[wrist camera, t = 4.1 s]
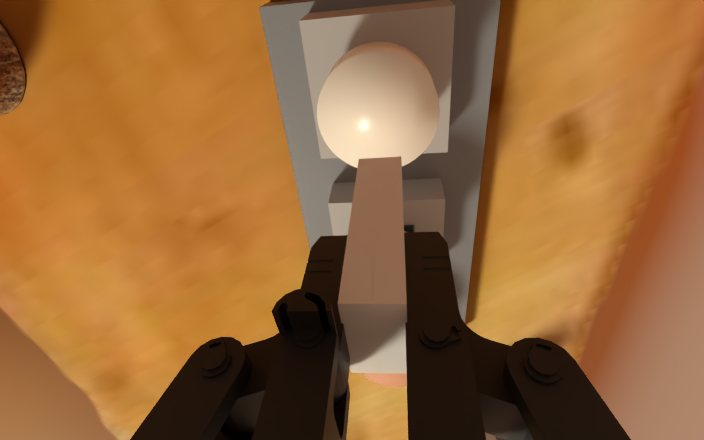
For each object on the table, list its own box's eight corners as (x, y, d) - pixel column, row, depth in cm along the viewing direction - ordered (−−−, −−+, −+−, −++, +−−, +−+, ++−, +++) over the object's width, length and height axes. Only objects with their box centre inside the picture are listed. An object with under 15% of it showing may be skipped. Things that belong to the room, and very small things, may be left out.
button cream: (323, 37, 18) (307, 57, 15) (432, 27, 18) (442, 46, 14) (336, 138, 21) (325, 173, 18) (430, 132, 21) (437, 168, 17)
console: (269, 2, 21) (243, 13, 17) (493, -22, 20) (516, -15, 16) (332, 329, 37) (326, 370, 34) (458, 329, 36) (466, 373, 32)
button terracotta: (360, 302, 31) (356, 345, 28) (424, 301, 30) (429, 346, 27) (365, 342, 34) (362, 386, 30) (424, 342, 33) (428, 387, 30)
